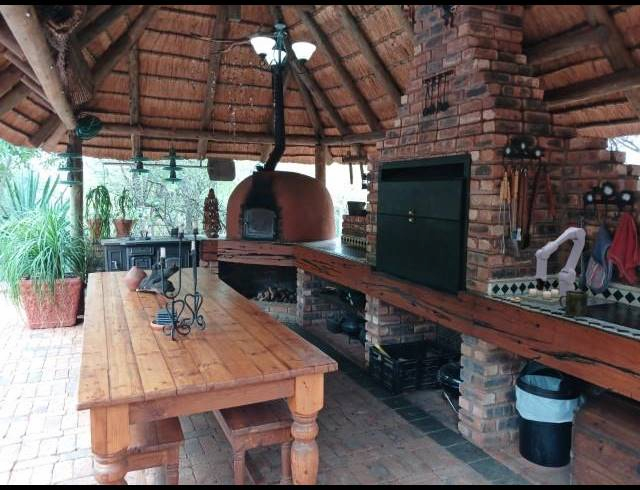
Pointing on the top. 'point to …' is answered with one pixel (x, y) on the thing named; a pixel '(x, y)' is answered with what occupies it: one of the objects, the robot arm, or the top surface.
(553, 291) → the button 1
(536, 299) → the grey-green board with holes
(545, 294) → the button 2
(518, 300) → the tile
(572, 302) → the mug
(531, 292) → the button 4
